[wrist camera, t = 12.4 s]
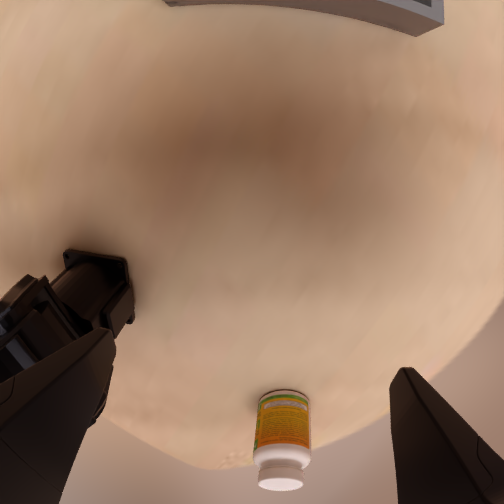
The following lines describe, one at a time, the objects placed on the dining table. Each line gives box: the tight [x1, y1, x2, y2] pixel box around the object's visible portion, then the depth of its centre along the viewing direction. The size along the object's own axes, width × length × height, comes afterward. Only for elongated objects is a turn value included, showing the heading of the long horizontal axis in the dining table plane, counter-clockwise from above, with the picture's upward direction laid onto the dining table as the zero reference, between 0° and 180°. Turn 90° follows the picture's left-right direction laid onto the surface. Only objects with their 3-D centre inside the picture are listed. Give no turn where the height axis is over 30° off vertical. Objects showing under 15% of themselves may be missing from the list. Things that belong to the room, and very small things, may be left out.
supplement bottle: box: [253, 390, 311, 491], centre depth 24 cm, size 5×5×10 cm
